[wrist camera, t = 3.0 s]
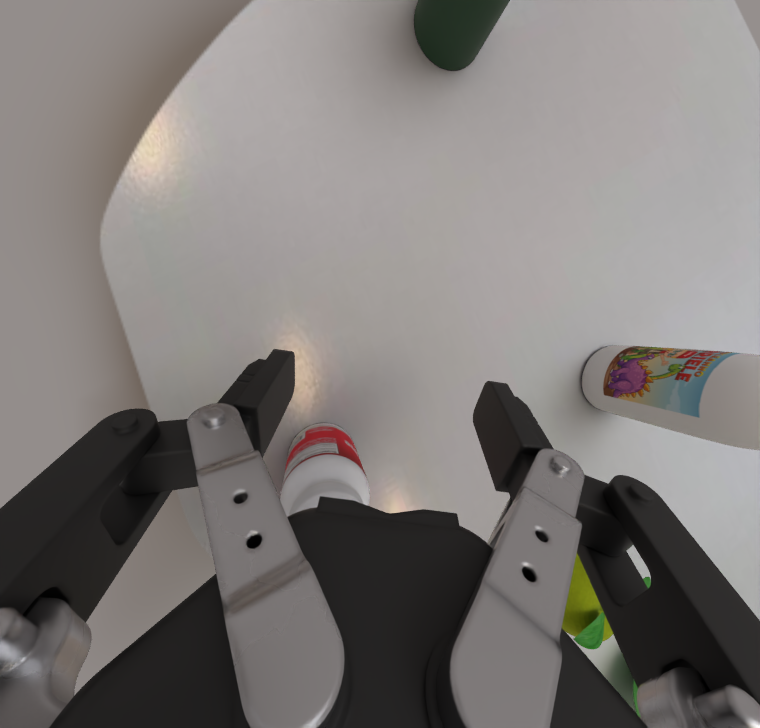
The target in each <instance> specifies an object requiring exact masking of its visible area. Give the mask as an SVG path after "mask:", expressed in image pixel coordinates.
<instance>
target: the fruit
mask: <svg viewBox="0 0 760 728" xmlns="http://www.w3.org/2000/svg"><path fill="white" fill-rule="evenodd" d="M643 580H644V582H645V584H646V586H647V587H648V588H649V587H650V585H651V580H650V578H649V577H645V578H644V579H643ZM562 629H563V630H564V631H565V632H567V633H569V634H571V635H573V636H575V638H574V640H575V641H576V642H577V643H578V644H579V645H581V646H583V647H585V648H588V649H596V648H598V647H599V646H600V645H601V643H602V641H605V640H607V639H608V638H610V637H611V636H612V635H613V632H612V629H611V627H610V625H609V623H608V620H607V618H606V616H605V614H604V612H603V609H602V607H601V605H600V603H599V600H598V598H597V596H596V594H595V591H594V589H593V587H592V585H591V583H590V580H589V578H588V576H587V574H586V571H585V569H584V567H583V565H582V562H581V560H580V558H579V556H578V554H577V553H576V558H575V563H574V568H573V573H572V578H571V583H570V588H569V593H568V598H567V603H566V608H565V613H564V618H563V623H562Z"/></svg>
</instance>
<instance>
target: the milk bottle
mask: <svg viewBox="0 0 760 728" xmlns="http://www.w3.org/2000/svg"><path fill="white" fill-rule="evenodd" d="M582 388H583V393H584V395H585V397H586V399H587V400H588V402H590V403H591V404H592V405H593V406H594V407H596V408H598V409H600V410H603V411H606V412H610V413H613V414H616V415H620V416H623V417H627V418H630V419H634V420H637V421H641V422H644V423H648V424H651V425H655V426H658V427H662V428H666V429H669V430H673V431H676V432H680V433H684V434H687V435H691V436H694V437H698V438H702V439H706V440H710V441H714V442H718V443H721V444H725V445H730V446H735V447H740V448H746V449H754V450H760V355H754V354H743V353H732V352H720V351H705V350H690V349H674V348H657V347H640V346H620V345H612V346H608V347H605V348H603V349H600V350H599V351H597V352H596V353H594V355H593V356H592V357H591V358H590V359H589V361H588V362H587V364H586V366H585V368H584V372H583V376H582Z"/></svg>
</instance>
